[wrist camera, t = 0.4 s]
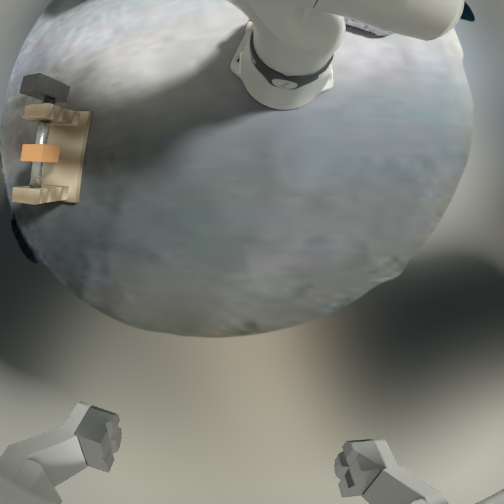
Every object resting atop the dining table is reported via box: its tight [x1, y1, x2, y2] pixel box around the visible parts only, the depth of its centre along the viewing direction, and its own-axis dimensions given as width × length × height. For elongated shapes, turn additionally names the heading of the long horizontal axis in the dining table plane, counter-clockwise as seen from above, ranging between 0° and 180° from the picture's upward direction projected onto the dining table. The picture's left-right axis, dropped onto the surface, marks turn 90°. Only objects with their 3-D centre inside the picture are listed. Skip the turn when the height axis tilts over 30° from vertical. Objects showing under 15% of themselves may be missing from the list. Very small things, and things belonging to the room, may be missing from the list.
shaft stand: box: [12, 103, 92, 205], centre depth 44 cm, size 18×10×12 cm, turn 170°
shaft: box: [19, 73, 70, 205], centre depth 39 cm, size 22×4×10 cm, turn 170°
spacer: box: [21, 144, 60, 163], centre depth 42 cm, size 3×5×5 cm, turn 80°
